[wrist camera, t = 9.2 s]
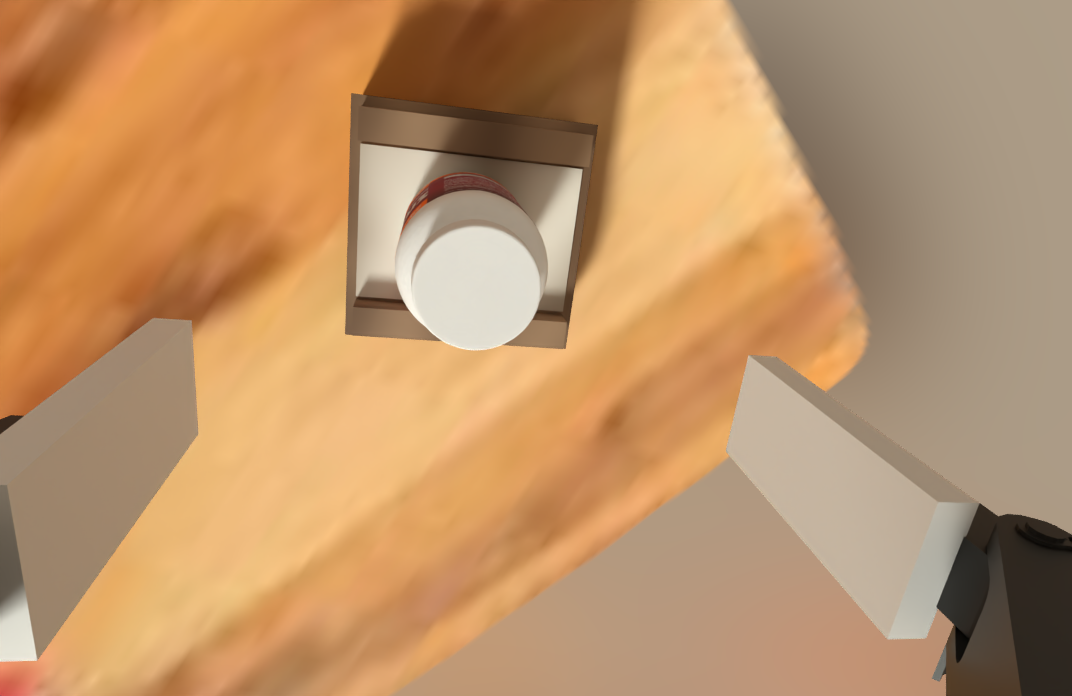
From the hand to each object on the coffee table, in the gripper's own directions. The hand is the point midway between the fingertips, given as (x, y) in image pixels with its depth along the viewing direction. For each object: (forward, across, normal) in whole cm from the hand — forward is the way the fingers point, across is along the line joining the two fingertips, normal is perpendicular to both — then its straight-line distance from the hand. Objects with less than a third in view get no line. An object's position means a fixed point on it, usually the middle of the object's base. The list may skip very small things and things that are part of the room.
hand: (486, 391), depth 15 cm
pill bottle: (+20, 0, 0) cm, 20 cm away
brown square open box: (+24, +1, 0) cm, 25 cm away
